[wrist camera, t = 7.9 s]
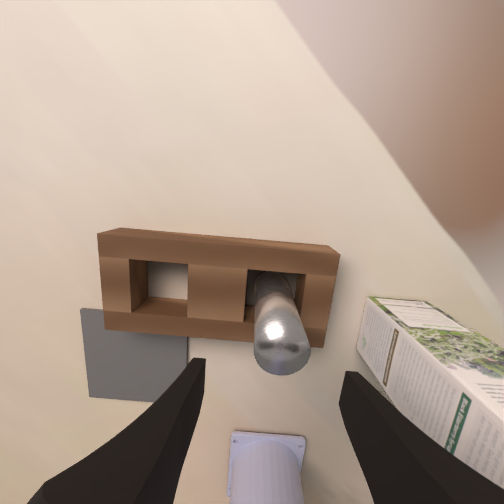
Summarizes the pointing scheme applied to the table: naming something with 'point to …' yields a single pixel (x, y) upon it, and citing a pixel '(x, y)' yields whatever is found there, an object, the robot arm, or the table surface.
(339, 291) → the table surface
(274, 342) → the peg
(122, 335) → the rubber mat
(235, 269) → the walnut hole block
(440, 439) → the syrup box
